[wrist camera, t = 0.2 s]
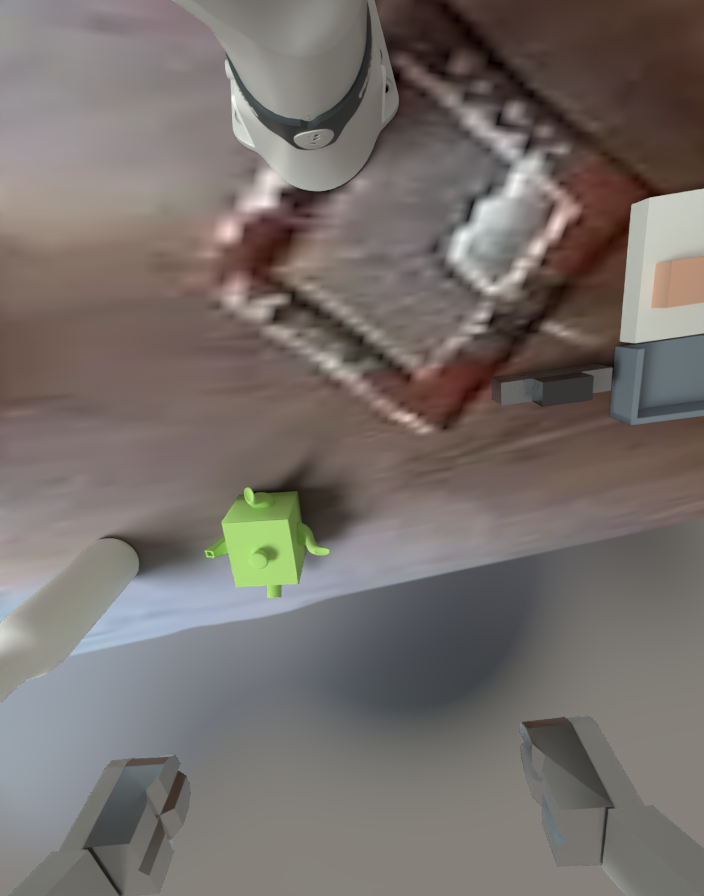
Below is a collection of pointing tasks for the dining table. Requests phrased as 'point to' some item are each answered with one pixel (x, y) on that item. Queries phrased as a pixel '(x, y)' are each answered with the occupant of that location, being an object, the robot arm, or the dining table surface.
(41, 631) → the alcohol
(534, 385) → the two-tone stepped block
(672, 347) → the tray
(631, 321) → the board
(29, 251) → the dining table surface
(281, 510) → the kettle
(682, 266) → the tile
